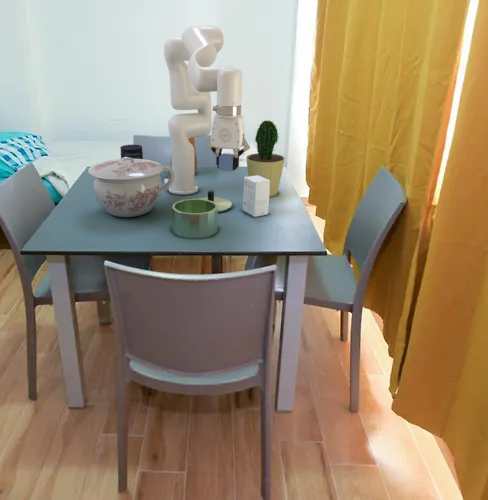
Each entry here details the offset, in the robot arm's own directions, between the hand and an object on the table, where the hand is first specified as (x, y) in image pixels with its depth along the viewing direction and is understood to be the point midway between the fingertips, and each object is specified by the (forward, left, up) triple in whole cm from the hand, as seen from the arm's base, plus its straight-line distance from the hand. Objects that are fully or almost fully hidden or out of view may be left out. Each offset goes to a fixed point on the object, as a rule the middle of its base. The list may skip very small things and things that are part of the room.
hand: (227, 167), depth 159 cm
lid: (-13, +18, -21) cm, 31 cm away
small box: (+5, +19, -21) cm, 29 cm away
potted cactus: (+1, +43, -21) cm, 48 cm away
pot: (-9, -5, -21) cm, 24 cm away
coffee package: (-42, +57, -21) cm, 74 cm away
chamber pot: (-39, +2, -21) cm, 45 cm away
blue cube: (0, 0, 0) cm, 0 cm away
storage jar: (-59, +39, -21) cm, 74 cm away
